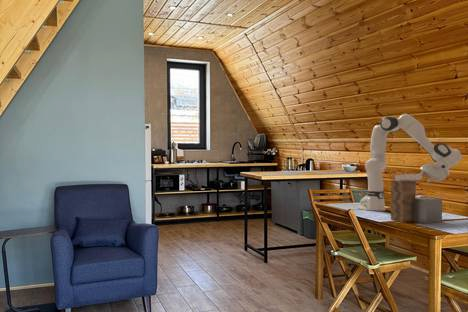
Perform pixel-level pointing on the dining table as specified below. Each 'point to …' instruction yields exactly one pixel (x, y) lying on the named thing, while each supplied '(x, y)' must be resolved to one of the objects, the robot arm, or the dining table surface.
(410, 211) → the tall wooden cabinet
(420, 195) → the pneumatic valve
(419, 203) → the riser block
